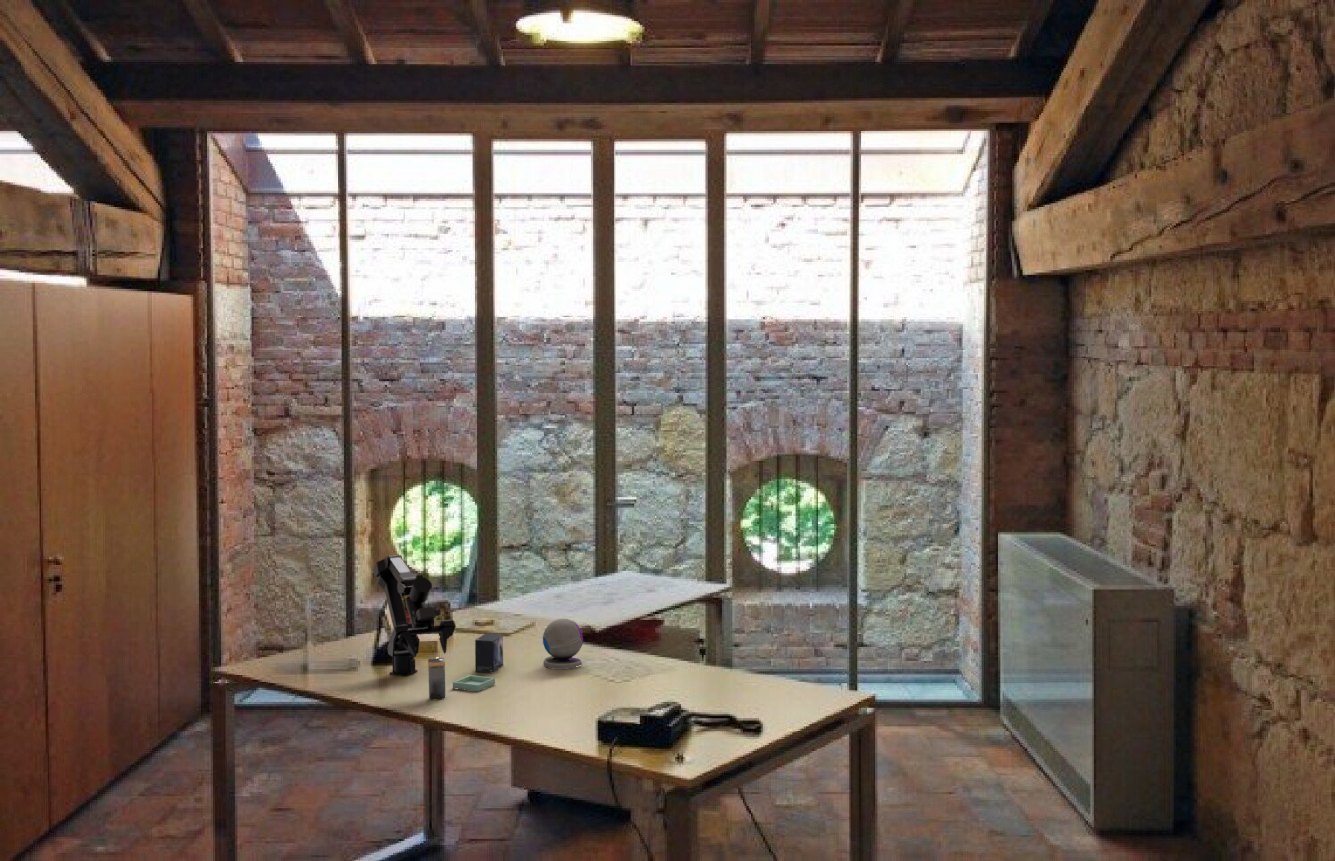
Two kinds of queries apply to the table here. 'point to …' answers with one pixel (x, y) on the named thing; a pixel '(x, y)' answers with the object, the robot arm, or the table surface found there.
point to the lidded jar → (436, 677)
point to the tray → (474, 683)
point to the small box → (488, 652)
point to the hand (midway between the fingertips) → (430, 654)
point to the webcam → (562, 644)
